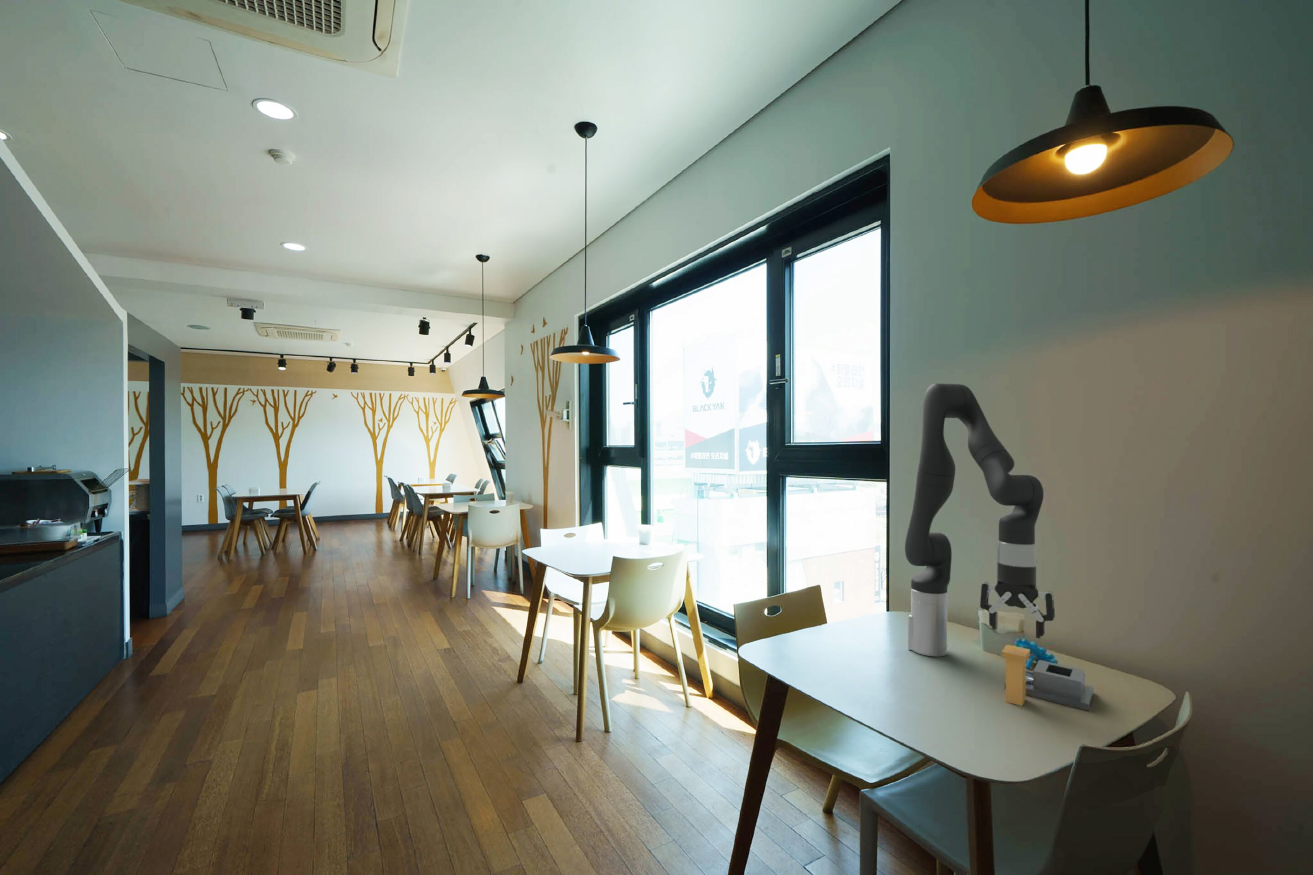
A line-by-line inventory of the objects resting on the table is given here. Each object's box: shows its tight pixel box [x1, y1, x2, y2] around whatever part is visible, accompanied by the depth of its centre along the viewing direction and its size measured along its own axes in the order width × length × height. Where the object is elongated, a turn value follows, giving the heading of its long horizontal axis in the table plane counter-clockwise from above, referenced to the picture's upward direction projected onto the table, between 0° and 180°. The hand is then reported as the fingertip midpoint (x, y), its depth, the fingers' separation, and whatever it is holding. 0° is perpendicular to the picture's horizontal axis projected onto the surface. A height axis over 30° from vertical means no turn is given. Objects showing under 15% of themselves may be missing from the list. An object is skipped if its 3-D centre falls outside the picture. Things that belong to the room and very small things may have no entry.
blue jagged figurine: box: [1014, 638, 1059, 670], centre depth 149 cm, size 11×6×10 cm
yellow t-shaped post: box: [1001, 644, 1030, 707], centre depth 129 cm, size 5×6×11 cm
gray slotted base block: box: [1004, 660, 1094, 712], centre depth 134 cm, size 16×12×6 cm
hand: (1016, 633), depth 129 cm, fingers open, 8 cm apart
